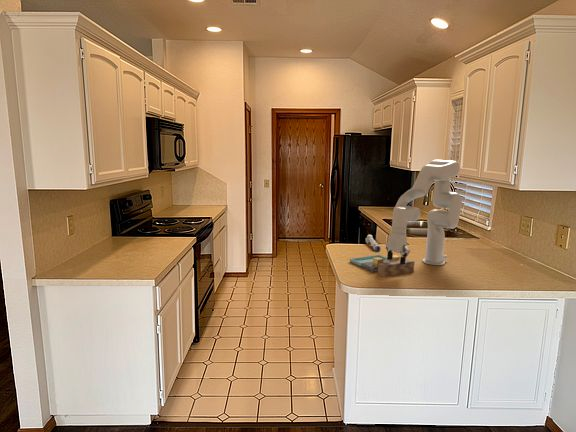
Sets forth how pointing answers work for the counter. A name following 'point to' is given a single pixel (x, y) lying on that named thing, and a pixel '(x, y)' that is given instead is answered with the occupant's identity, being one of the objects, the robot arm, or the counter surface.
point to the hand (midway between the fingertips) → (395, 261)
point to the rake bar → (395, 267)
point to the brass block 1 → (377, 261)
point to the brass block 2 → (395, 258)
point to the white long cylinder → (372, 243)
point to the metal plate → (371, 266)
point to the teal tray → (365, 259)
